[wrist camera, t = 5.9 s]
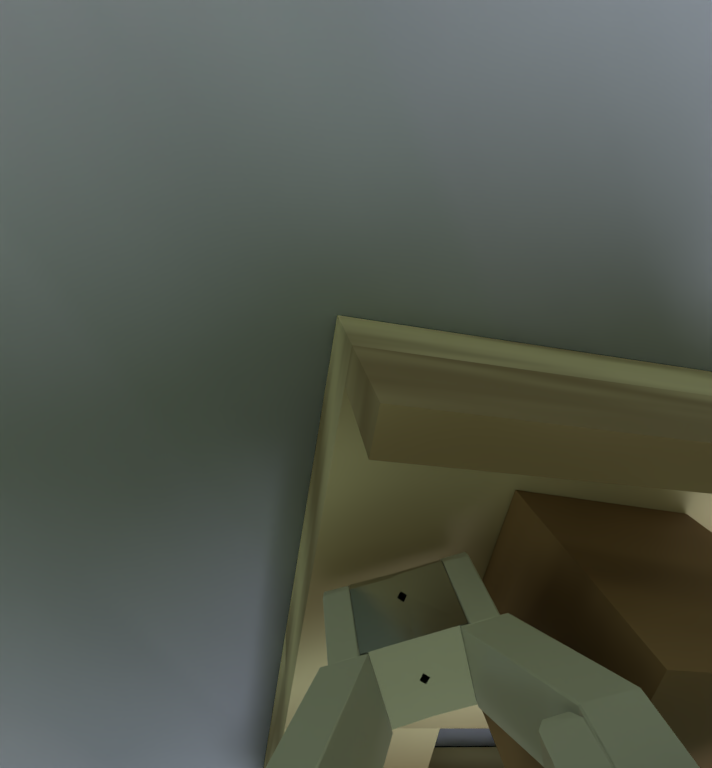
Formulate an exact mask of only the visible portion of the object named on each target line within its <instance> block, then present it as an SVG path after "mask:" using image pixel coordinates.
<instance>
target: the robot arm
mask: <svg viewBox="0 0 712 768" xmlns="http://www.w3.org/2000/svg"><path fill="white" fill-rule="evenodd" d="M323 608H324V622H325V635H326V648H327V661H328V665H327V666H324V667H320V668H319V670H318V672H317V674H316V676H315V678H314V679H313V681H312V683H311V685H310V687H309V689H308V691H307V692H306V694H305V696H304V698H303V700H302V702H301V703H300V705H299V707H298V709H297V711H296V713H295V714H294V716H293V718H292V720H291V722H290V724H289V725H288V727H287V729H286V731H285V733H284V735H283V737H282V738H281V740H280V742H279V744H278V746H277V748H276V749H275V751H274V753H273V755H272V757H271V759H270V760H269V762H268V764H267V766H266V768H383V767H384V763H385V759H386V756H387V752H388V749H389V745H390V742H391V738H392V735H393V732H392V730H393V729H396V728H399V727H402V726H405V725H408V724H411V723H414V722H417V721H420V720H423V719H426V718H429V717H432V716H435V715H439V714H443V713H447V712H451V711H454V710H458V709H462V708H466V707H469V706H473V705H477V704H478V707H479V708H480V709H481V710H482V711H483V712H484V713H485V714H486V715H488V716H489V717H490V718H491V719H492V720H493V721H494V722H495V723H496V724H497V725H498V726H500V727H501V728H502V729H503V730H504V731H505V732H506V733H507V734H508V735H509V736H510V737H512V738H513V739H514V740H515V741H516V742H517V743H518V744H519V745H520V746H521V747H522V748H524V749H525V750H526V751H527V752H528V753H529V754H530V755H531V756H532V757H533V758H534V759H536V760H537V761H538V762H539V763H540V764H541V765H542V766H543V767H544V768H700V767H699V766H698V764H697V763H696V762H695V760H694V759H693V758H692V756H691V755H690V754H689V752H688V751H687V750H686V748H685V747H684V746H683V744H682V743H681V742H680V740H679V739H678V738H677V736H676V735H675V733H674V732H673V731H672V729H671V728H670V727H669V725H668V724H667V723H666V721H665V720H664V719H663V717H662V716H661V715H660V713H659V712H658V711H657V709H656V708H655V707H654V705H653V704H652V702H651V701H650V700H649V698H648V697H647V696H646V694H645V693H644V692H643V690H642V689H641V688H640V687H638V686H636V685H635V684H633V683H631V682H629V681H628V680H626V679H624V678H622V677H621V676H619V675H617V674H615V673H613V672H612V671H610V670H608V669H606V668H605V667H603V666H601V665H599V664H598V663H596V662H594V661H592V660H590V659H589V658H587V657H585V656H583V655H582V654H580V653H578V652H576V651H575V650H573V649H571V648H569V647H568V646H566V645H564V644H562V643H560V642H559V641H557V640H555V639H553V638H552V637H550V636H548V635H546V634H545V633H543V632H541V631H539V630H538V629H536V628H534V627H532V626H530V625H529V624H527V623H525V622H523V621H522V620H520V619H518V618H516V617H515V616H513V615H511V614H509V613H505V614H502V615H500V614H499V612H498V610H497V608H496V606H495V604H494V602H493V600H492V598H491V597H490V595H489V593H488V591H487V589H486V587H485V585H484V583H483V581H482V580H481V578H480V576H479V574H478V572H477V570H476V568H475V566H474V564H473V563H472V561H471V559H470V557H469V555H468V554H467V553H466V552H462V553H459V554H456V555H452V556H449V557H446V558H443V559H441V561H440V560H437V561H434V562H431V563H427V564H424V565H420V566H417V567H414V568H410V569H407V570H403V571H400V572H397V573H393V574H389V575H385V576H381V577H378V578H374V579H370V580H366V581H362V582H358V583H355V584H351V585H350V586H345V587H341V588H337V589H334V590H330V591H326V592H324V595H323Z"/></svg>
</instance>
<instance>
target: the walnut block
mask: <svg viewBox="0 0 712 768" xmlns="http://www.w3.org/2000/svg"><path fill="white" fill-rule="evenodd" d="M483 583H484V585H485V587H486V589H487V591H488V593H489V595H490V597H491V598H492V600H493V602H494V604H495V606H496V608H497V610H498V612H499V614H500V615H502V614H505V613H509V614H511V615H513V616H515V617H516V618H518V619H520V620H522V621H523V622H525V623H527V624H529V625H530V626H532V627H534V628H536V629H538V630H539V631H541V632H543V633H545V634H546V635H548V636H550V637H552V638H553V639H555V640H557V641H559V642H560V643H562V644H564V645H566V646H568V647H569V648H571V649H573V650H575V651H576V652H578V653H580V654H582V655H583V656H585V657H587V658H589V659H590V660H592V661H594V662H596V663H598V664H599V665H601V666H603V667H605V668H606V669H608V670H610V671H612V672H613V673H615V674H617V675H619V676H621V677H622V678H624V679H626V680H628V681H629V682H631V683H633V684H635V685H636V686H638V687H640V688H641V689H642V690H643V692H644V693H645V694H646V696H647V697H648V698H649V700H650V701H651V702H652V704H653V705H654V707H655V708H656V709H657V711H658V712H659V713H660V715H661V716H662V717H663V719H664V720H665V721H666V723H667V724H668V725H669V727H670V728H671V729H672V731H673V732H674V733H675V735H676V736H677V738H678V739H679V740H680V742H681V743H682V744H683V746H684V747H685V748H686V750H687V751H688V752H689V754H690V755H691V756H692V758H693V759H694V760H695V762H696V763H697V764H698V766H699V767H700V768H712V532H711V531H709V530H708V529H706V528H705V527H704V526H702V525H701V524H700V523H698V522H697V521H696V520H694V519H693V518H692V517H690V516H689V515H687V514H685V513H678V512H671V511H663V510H656V509H649V508H642V507H635V506H628V505H620V504H613V503H606V502H599V501H592V500H585V499H577V498H570V497H563V496H556V495H549V494H542V493H534V492H527V491H520V490H515V492H514V495H513V498H512V501H511V503H510V506H509V509H508V512H507V514H506V517H505V520H504V523H503V525H502V528H501V531H500V534H499V536H498V539H497V542H496V545H495V548H494V550H493V553H492V556H491V559H490V561H489V564H488V567H487V570H486V572H485V575H484V578H483ZM483 714H484V717H485V719H486V722H487V724H488V727H489V729H490V732H491V734H492V737H493V739H494V742H495V744H496V747H497V749H498V752H499V754H500V757H501V759H502V762H503V764H504V767H505V768H544V767H543V766H542V765H541V764H540V763H539V762H538V761H537V760H536V759H534V758H533V757H532V756H531V755H530V754H529V753H528V752H527V751H526V750H525V749H524V748H522V747H521V746H520V745H519V744H518V743H517V742H516V741H515V740H514V739H513V738H512V737H510V736H509V735H508V734H507V733H506V732H505V731H504V730H503V729H502V728H501V727H500V726H498V725H497V724H496V723H495V722H494V721H493V720H492V719H491V718H490V717H489V716H488V715H486V714H485V713H484V712H483Z"/></svg>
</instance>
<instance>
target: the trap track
mask: <svg viewBox="0 0 712 768" xmlns="http://www.w3.org/2000/svg"><path fill="white" fill-rule="evenodd" d="M515 490H520V491H527V492H534V493H542V494H549V495H556V496H563V497H570V498H577V499H585V500H592V501H599V502H606V503H613V504H620V505H628V506H635V507H642V508H649V509H656V510H663V511H671V512H678V513H685V514H687V515H689V516H690V517H692V518H693V519H694V520H696V521H697V522H698V523H700V524H701V525H702V526H704V527H705V528H706V529H708V530H709V531H711V532H712V372H710V371H704V370H697V369H690V368H684V367H677V366H671V365H664V364H657V363H651V362H644V361H638V360H631V359H624V358H618V357H611V356H604V355H598V354H591V353H585V352H578V351H571V350H565V349H558V348H551V347H545V346H538V345H532V344H525V343H518V342H512V341H505V340H498V339H492V338H485V337H479V336H472V335H465V334H459V333H452V332H445V331H439V330H432V329H426V328H419V327H412V326H406V325H399V324H393V323H386V322H379V321H373V320H366V319H359V318H353V317H346V316H340V315H337V320H336V326H335V332H334V338H333V344H332V351H331V357H330V363H329V369H328V375H327V381H326V387H325V393H324V400H323V406H322V412H321V418H320V424H319V430H318V436H317V443H316V449H315V455H314V461H313V467H312V473H311V479H310V485H309V492H308V498H307V504H306V510H305V516H304V522H303V528H302V535H301V541H300V547H299V553H298V559H297V565H296V571H295V577H294V584H293V590H292V596H291V602H290V608H289V614H288V620H287V627H286V633H285V639H284V645H283V651H282V657H281V663H280V669H279V676H278V682H277V688H276V694H275V700H274V706H273V712H272V719H271V725H270V731H269V737H268V743H267V749H266V755H265V761H264V768H266V766H267V764H268V762H269V760H270V759H271V757H272V755H273V753H274V751H275V749H276V748H277V746H278V744H279V742H280V740H281V738H282V737H283V735H284V733H285V731H286V729H287V727H288V725H289V724H290V722H291V720H292V718H293V716H294V714H295V713H296V711H297V709H298V707H299V705H300V703H301V702H302V700H303V698H304V696H305V694H306V692H307V691H308V689H309V687H310V685H311V683H312V681H313V679H314V678H315V676H316V674H317V672H318V670H319V668H320V667H324V666H327V665H328V661H327V648H326V635H325V622H324V608H323V595H324V592H326V591H330V590H334V589H337V588H341V587H345V586H350V585H351V584H355V583H358V582H362V581H366V580H370V579H374V578H378V577H381V576H385V575H389V574H393V573H397V572H400V571H403V570H407V569H410V568H414V567H417V566H420V565H424V564H427V563H431V562H434V561H437V560H440V561H441V559H443V558H446V557H449V556H452V555H456V554H459V553H462V552H466V553H467V554H468V555H469V557H470V559H471V561H472V563H473V564H474V566H475V568H476V570H477V572H478V574H479V576H480V578H481V580H482V581H483V578H484V575H485V572H486V570H487V567H488V564H489V561H490V559H491V556H492V553H493V550H494V548H495V545H496V542H497V539H498V536H499V534H500V531H501V528H502V525H503V523H504V520H505V517H506V514H507V512H508V509H509V506H510V503H511V501H512V498H513V495H514V492H515ZM440 728H489V727H488V724H487V722H486V719H485V717H484V714H483V711H482V710H481V709H480V708H479V707H478V704H477V705H473V706H469V707H466V708H462V709H458V710H454V711H451V712H447V713H443V714H439V715H435V716H432V717H429V718H426V719H423V720H420V721H417V722H414V723H411V724H408V725H405V726H402V727H399V728H396V729H393V730H392V732H393V735H392V738H391V742H390V745H389V749H388V752H387V756H386V759H385V763H384V767H383V768H505V767H504V764H503V762H502V759H501V757H500V754H499V752H498V749H497V747H434V746H435V743H436V740H437V737H438V733H439V730H440Z"/></svg>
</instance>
